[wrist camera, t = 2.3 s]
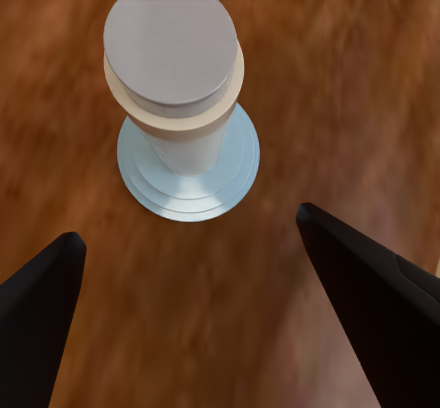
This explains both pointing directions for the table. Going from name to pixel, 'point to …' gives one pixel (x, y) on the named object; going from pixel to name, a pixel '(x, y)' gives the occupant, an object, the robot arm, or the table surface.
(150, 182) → the light blue stepped disc
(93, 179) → the table surface
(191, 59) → the sugar shaker
